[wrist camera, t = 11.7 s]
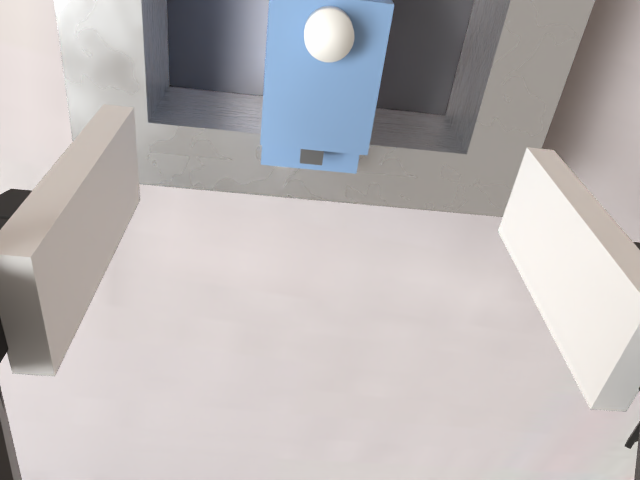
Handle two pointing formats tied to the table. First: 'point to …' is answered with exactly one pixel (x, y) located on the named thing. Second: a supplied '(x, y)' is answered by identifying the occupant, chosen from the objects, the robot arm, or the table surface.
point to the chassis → (389, 125)
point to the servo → (322, 81)
